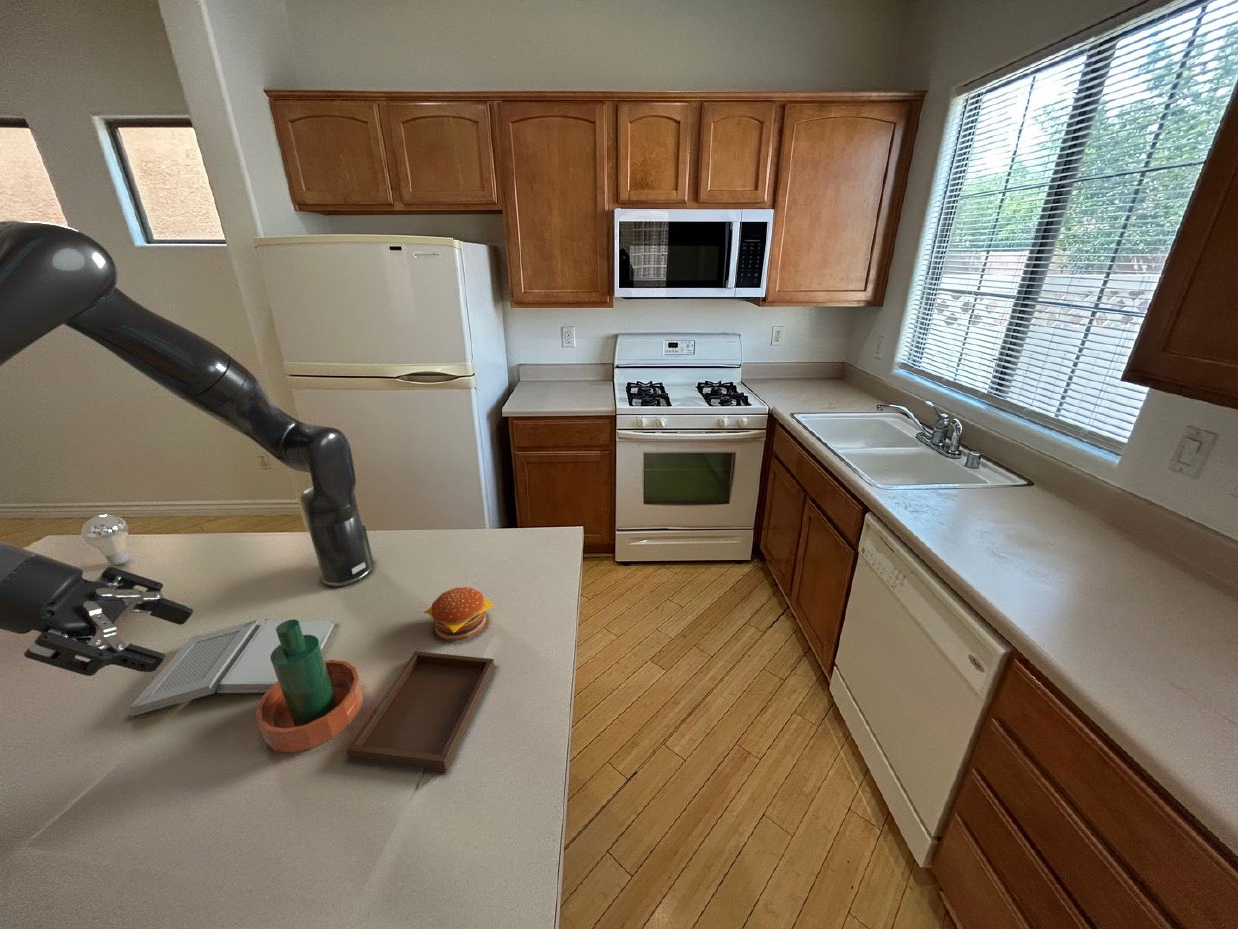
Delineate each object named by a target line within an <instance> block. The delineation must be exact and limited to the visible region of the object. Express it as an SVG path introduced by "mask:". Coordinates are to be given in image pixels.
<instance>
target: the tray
mask: <svg viewBox="0 0 1238 929" xmlns="http://www.w3.org/2000/svg"><path fill="white" fill-rule="evenodd" d="M495 669H496V666H495V659H494V658H486V657H477V656H467V655H456V654H449V653H448V654H445V653H437V652H427V651H416V650H415V651H414V652H413V654H412V655H411V656H410V658H409V659H408V661H407V662H406V663H405V665H404V666H403V668H402V669H401V671H400V672H399V674H398V675H397V676H396V678H395V679H394V681H393V682H392V684H391V685H390V686H389V688H388V689H387V691H386V692H385V694H384V695H383V696H382V698H381V699H380V701H379V702H378V704H377V705H376V706H375V708H374V709H373V711H372V712H371V714H370V715H369V716H368V718H367V719H366V721H365V723H364V724H363V726H361V728H360V729H359V731H358V732H357V734H356V735H355V737H354V738H353V739H352V741H351V742H350V743H349V745H348V747H347V748H346V753H347V756H348V758H349V759H358V760H364V761H374V762H380V763H388V764H389V763H390V764H397V765H405V766H412V767H421V768H424V771H432V772H439V773H447V772H448V770H449V767H450V765H451V764H452V761H453V759H454V757H455V755H456V753H457V750H458V748H459V746H460V745H461V743H462V740H463V737H464V736H465V733H466V731H467V729H468V727H469V724H470V723H471V720H472V718H473V716H474V714H475V712H476V710H477V708H478V705H479V703H480V701H481V699H482V697H483V695H484V693H485V691H486V689H487V686H488V684H489V682H490V680H491V679H492V678H491V677H492V675H493V673H494V671H495Z"/></svg>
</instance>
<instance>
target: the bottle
mask: <svg viewBox="0 0 1238 929" xmlns="http://www.w3.org/2000/svg"><path fill="white" fill-rule="evenodd" d="M287 620H288V621H285V622H283V623H281V624H280V625H278V626H277V628H276V633H277V635H278V638H279V641H280V645H279V646H278V647H276V648H275V649H274V651H273V652H272V654H271V657H270V659H271V662H272V665H273V668H274V671H275V673H276V676H277V679H278V682H279V685H280V687H281V690H282V693H283V696H284V699H285V701H286V704H287V707H288V710H289V713H290V715H291V718H292V721H293V724H294V726H295V727H297V726H302V725H306V724H308V723H310V722H313V721H315V720H317V719H319V718H321V717H323V716H325V715H326V714H328V713H329V712H330V711H332V710H333V709H334V708H336V707H337V705H338V704H337V700H336V696H335V693H334V690H333V687H332V683H331V680H330V677H329V673H328V670H327V667H326V663H325V661H326V660H325V658H324V654H323V649H322V650H321V647H320V643H319V640H318V638H317V637H315V636H313V635H303V634H302V631H301V627H300V624H299V621H298V620H299V619H287Z"/></svg>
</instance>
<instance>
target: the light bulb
mask: <svg viewBox="0 0 1238 929" xmlns="http://www.w3.org/2000/svg"><path fill="white" fill-rule="evenodd" d="M129 533H130V528H129V524H128V523H127V521H125V519H123V518H122V517H120V516H118V515H114V514H100V515H96V516H94V517H91V518H89V519H88V520H87V521H86V522H85V523H83V525H82V527H81V530H80V535H81V539H82V540H83V542H85V543H86V544H87V545H89V546H91V547H92V548H95V549H97V550H98V551H99V552H100V553H101V554H102V555H103V556H104V557H105V559H106V561H107V563H108V564H110V565H113V566H122V565H124V564H126V562H127V561H128V560H129V558H130V555H129V553H128V551H127V543H126V542H127V541H126V540H127V538H128V536H129Z"/></svg>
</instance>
